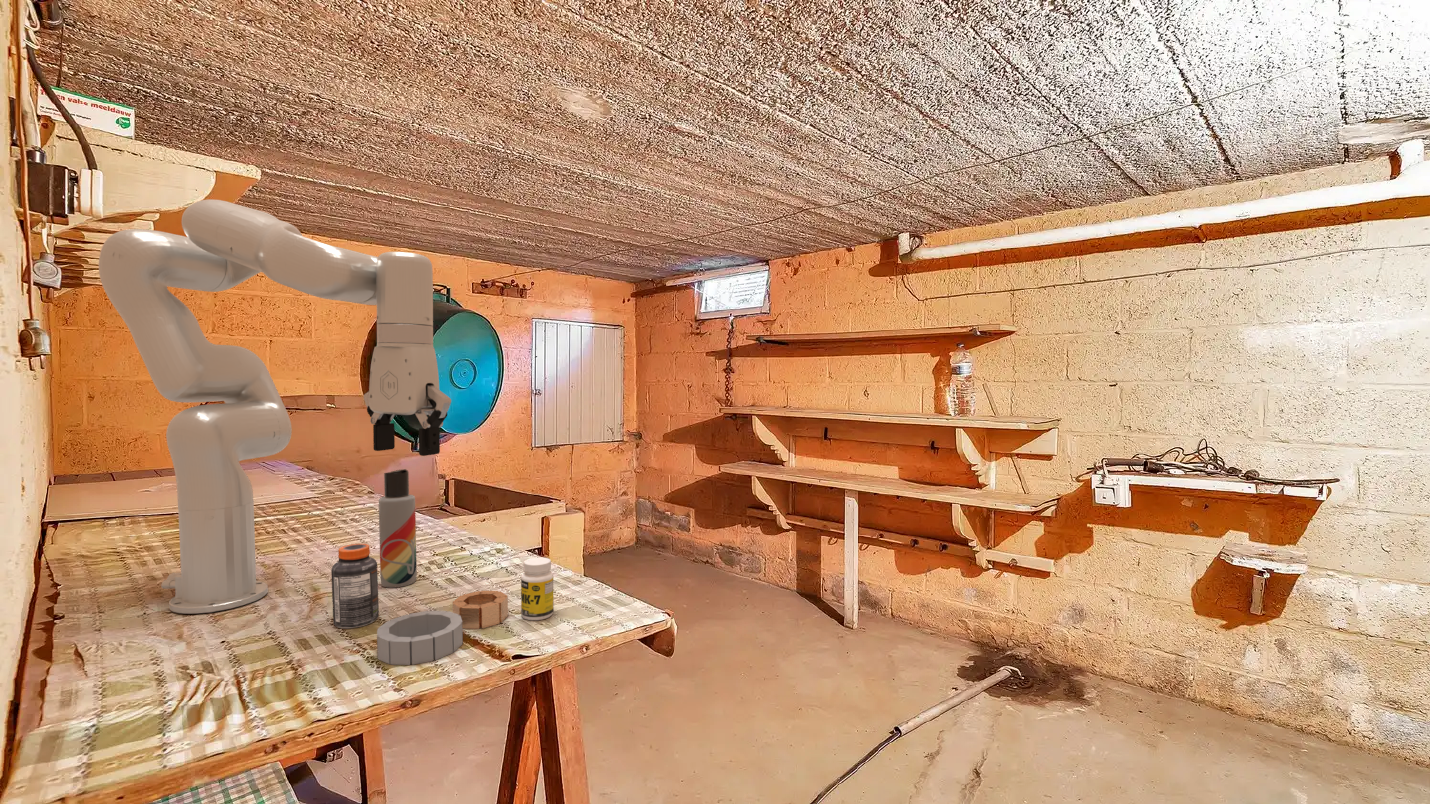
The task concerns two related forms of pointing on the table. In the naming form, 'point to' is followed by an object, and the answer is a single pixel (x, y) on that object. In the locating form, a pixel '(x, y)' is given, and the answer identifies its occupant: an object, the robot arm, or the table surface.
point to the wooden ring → (481, 609)
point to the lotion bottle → (397, 531)
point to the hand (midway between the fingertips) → (406, 452)
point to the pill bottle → (354, 587)
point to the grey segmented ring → (419, 637)
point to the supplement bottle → (537, 589)
